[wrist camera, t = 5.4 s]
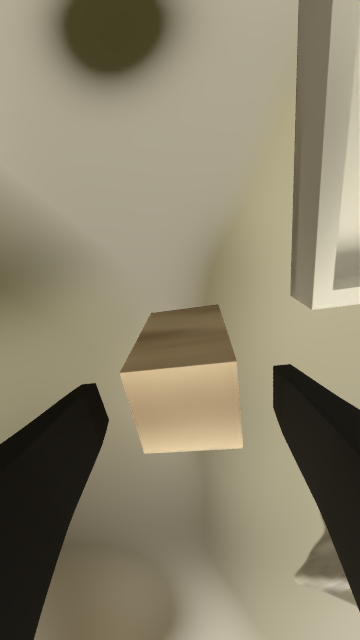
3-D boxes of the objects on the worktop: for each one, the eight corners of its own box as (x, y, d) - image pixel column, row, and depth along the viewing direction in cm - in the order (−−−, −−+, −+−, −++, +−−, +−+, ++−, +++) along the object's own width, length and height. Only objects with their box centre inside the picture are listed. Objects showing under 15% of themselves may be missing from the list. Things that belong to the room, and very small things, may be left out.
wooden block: (223, 362, 14) (242, 448, 9) (163, 368, 15) (144, 453, 9) (218, 304, 13) (236, 361, 7) (151, 313, 13) (119, 373, 8)
